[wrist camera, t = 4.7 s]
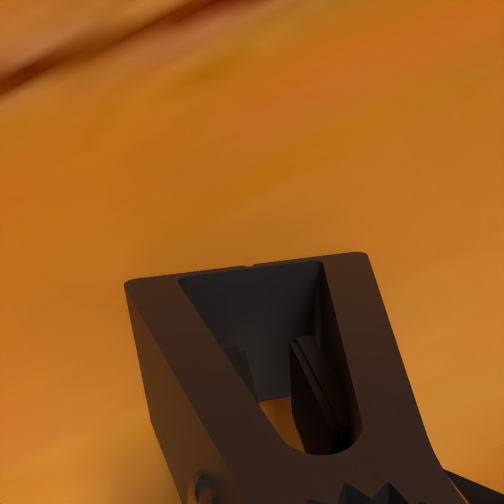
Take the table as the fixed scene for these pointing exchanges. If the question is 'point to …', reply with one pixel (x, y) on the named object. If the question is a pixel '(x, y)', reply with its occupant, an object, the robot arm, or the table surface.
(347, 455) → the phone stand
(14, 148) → the table surface
